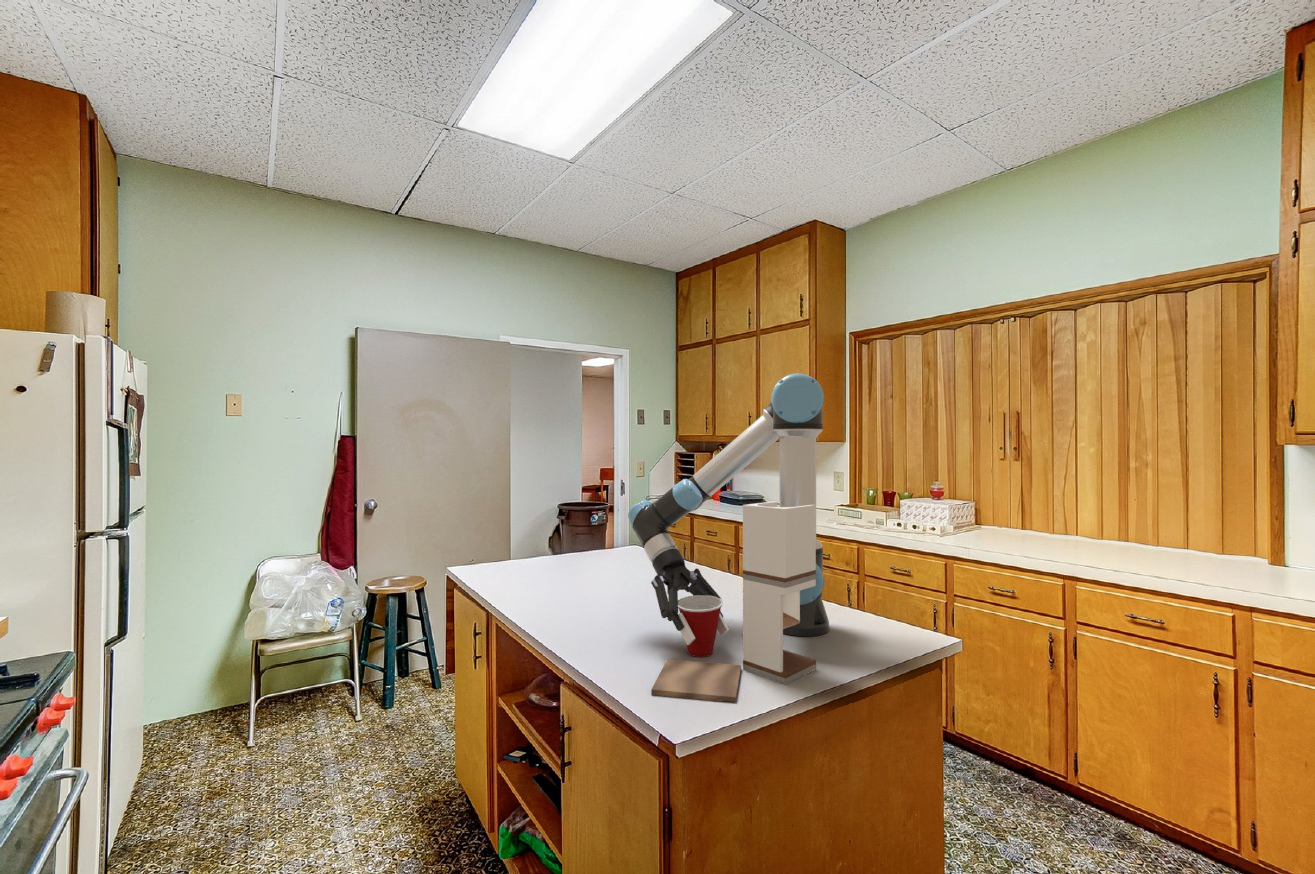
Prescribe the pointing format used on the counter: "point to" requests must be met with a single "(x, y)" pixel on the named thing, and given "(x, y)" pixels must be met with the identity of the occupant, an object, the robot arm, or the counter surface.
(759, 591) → the white dispenser
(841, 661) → the counter surface
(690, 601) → the plastic cup
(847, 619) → the counter surface
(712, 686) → the walnut board
